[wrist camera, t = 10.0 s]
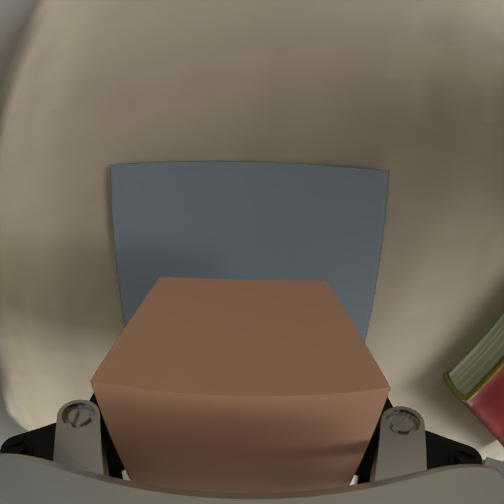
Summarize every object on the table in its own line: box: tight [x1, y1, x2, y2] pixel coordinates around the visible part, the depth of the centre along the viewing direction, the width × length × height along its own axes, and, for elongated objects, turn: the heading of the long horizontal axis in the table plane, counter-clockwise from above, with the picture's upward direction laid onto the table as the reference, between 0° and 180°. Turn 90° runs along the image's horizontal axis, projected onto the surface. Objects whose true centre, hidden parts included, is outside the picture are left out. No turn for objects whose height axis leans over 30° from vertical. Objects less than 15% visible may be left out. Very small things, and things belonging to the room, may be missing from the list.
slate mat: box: [111, 161, 389, 343], centre depth 17 cm, size 14×14×1 cm
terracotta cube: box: [90, 277, 390, 493], centre depth 9 cm, size 6×6×6 cm
